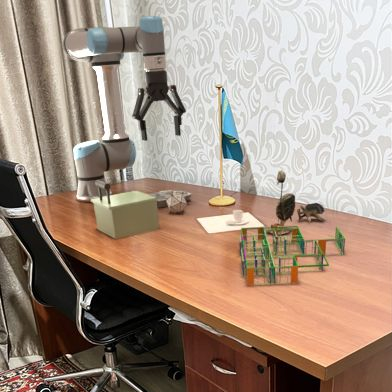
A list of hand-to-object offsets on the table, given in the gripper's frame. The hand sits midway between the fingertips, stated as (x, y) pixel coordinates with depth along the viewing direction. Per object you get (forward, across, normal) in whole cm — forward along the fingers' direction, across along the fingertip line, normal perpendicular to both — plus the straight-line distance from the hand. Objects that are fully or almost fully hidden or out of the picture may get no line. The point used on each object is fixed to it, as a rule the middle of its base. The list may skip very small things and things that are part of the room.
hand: (161, 137), depth 184 cm
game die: (+28, +4, 0) cm, 28 cm away
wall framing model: (+28, +2, -69) cm, 74 cm away
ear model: (+28, +11, -25) cm, 39 cm away
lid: (+18, -20, -6) cm, 28 cm away
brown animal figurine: (+28, +32, -44) cm, 61 cm away
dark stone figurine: (+28, +17, -46) cm, 56 cm away
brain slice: (+28, +9, +18) cm, 34 cm away
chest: (+28, -20, -6) cm, 35 cm away
